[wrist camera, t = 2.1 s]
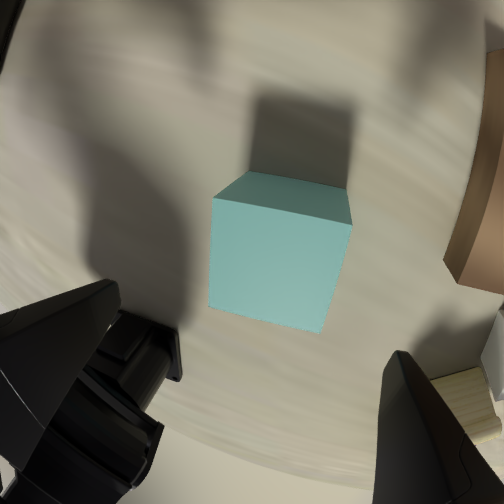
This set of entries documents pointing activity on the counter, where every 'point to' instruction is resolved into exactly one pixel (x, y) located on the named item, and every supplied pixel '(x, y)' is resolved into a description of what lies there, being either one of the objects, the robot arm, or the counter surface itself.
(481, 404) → the toy sofa
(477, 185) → the base block
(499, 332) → the grey cube
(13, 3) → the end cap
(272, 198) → the teal block
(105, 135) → the counter surface
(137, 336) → the robot arm
